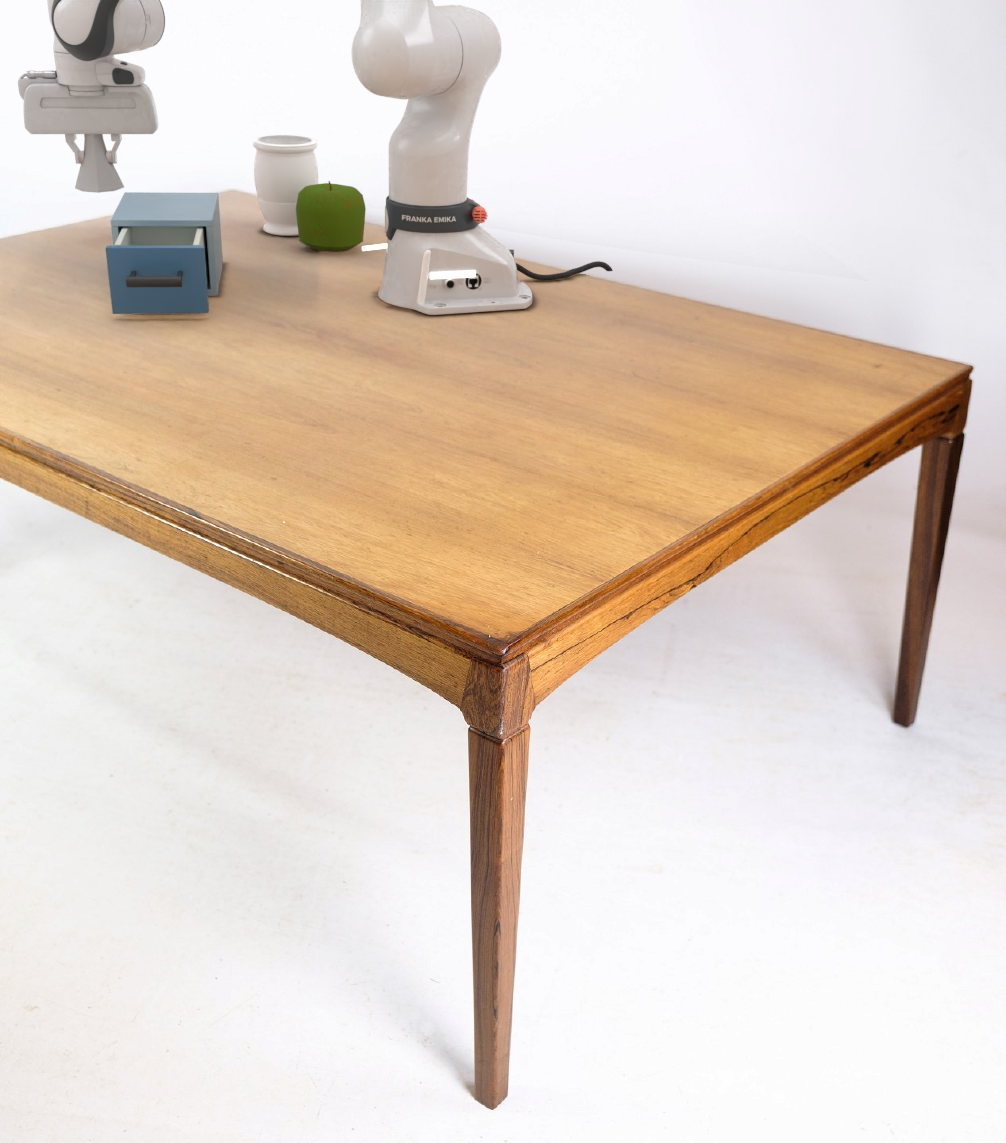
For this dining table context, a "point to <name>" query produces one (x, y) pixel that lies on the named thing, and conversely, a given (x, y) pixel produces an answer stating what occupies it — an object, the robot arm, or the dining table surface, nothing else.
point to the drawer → (159, 270)
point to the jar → (283, 178)
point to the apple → (330, 217)
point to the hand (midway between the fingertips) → (97, 163)
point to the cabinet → (176, 220)
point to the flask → (97, 168)
